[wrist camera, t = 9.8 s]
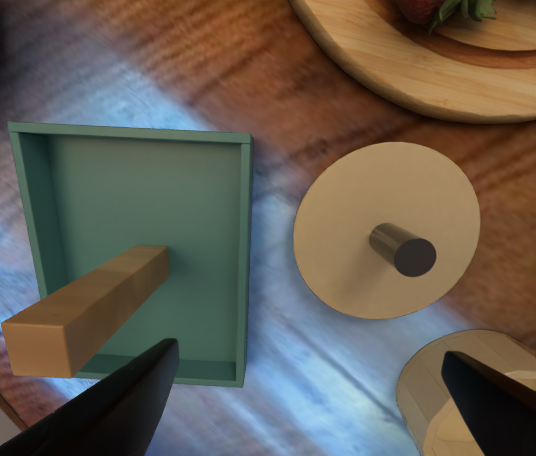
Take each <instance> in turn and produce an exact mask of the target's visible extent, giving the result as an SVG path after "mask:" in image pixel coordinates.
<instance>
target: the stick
mask: <svg viewBox="0 0 536 456" xmlns="http://www.w3.org/2000/svg"><path fill="white" fill-rule="evenodd" d="M168 277H169V258H168V247H167V246H149V245H135V246H134V247H132V248H130V249H129V250H127V251H125V252H123V253H122V254H120V255H118V256H116V257H115V258H113V259H111V260H109V261H108V262H106V263H104V264H102V265H101V266H99V267H97V268H96V269H94V270H92V271H90V272H89V273H87V274H85V275H83V276H82V277H80V278H78V279H76V280H75V281H73V282H71V283H70V284H68V285H66V286H64V287H63V288H61V289H59V290H57V291H56V292H54V293H52V294H50V295H49V296H47V297H45V298H43V299H42V300H40V301H38V302H37V303H35V304H33V305H31V306H30V307H28V308H26V309H24V310H23V311H21V312H19V313H17V314H16V315H14V316H12V317H11V318H9V319H7V320H5V321H4V322H2V323H1V327H2V331H3V335H4V339H5V343H6V348H7V352H8V356H9V360H10V364H11V368H12V373H13V375H19V376H36V377H54V378H73V377H74V376H75V375H76V374H77V373H78V371H79V370H80V369H81V368H82V367H83V366H84V365H85V364H86V363H87V362H88V361H89V360H90V359H91V358H92V357H93V356H94V355H95V354H96V353H97V351H98V350H99V349H100V348H101V347H102V346H103V345H104V344H105V343H106V342H107V341H108V340H109V339H110V338H111V337H112V336H113V335H114V334H115V333H116V331H117V330H118V329H119V328H120V327H121V326H122V325H123V324H124V323H125V322H126V321H127V320H128V319H129V318H130V317H131V316H132V315H133V314H134V313H135V311H136V310H137V309H138V308H139V307H140V306H141V305H142V304H143V303H144V302H145V301H146V300H147V299H148V298H149V297H150V296H151V295H152V294H153V292H154V291H155V290H156V289H157V288H158V287H159V286H160V285H161V284H162V283H163V282H164V281H165V280H166V279H167V278H168Z"/></svg>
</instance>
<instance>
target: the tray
mask: <svg viewBox="0 0 536 456" xmlns="http://www.w3.org/2000/svg"><path fill="white" fill-rule="evenodd" d="M7 125H8V130H9V135H10V140H11V145H12V150H13V156H14V161H15V166H16V172H17V177H18V182H19V187H20V193H21V198H22V203H23V209H24V214H25V219H26V224H27V230H28V235H29V240H30V246H31V251H32V256H33V261H34V267H35V272H36V277H37V282H38V288H39V293H40V298H41V300H42V299H43V298H45V297H47V296H49V295H50V294H52V293H54V292H56V291H57V290H59V289H61V288H63V287H64V286H66V285H68V284H70V283H71V282H73V281H75V280H76V279H78V278H80V277H82V276H83V275H85V274H87V273H89V272H90V271H92V270H94V269H96V268H97V267H99V266H101V265H102V264H104V263H106V262H108V261H109V260H111V259H113V258H115V257H116V256H118V255H120V254H122V253H123V252H125V251H127V250H129V249H130V248H132V247H134V246H135V245H149V246H167V247H168V258H169V277H168V278H167V279H166V280H165V281H164V282H163V283H162V284H161V285H160V286H159V287H158V288H157V289H156V290H155V291H154V292H153V294H152V295H151V296H150V297H149V298H148V299H147V300H146V301H145V302H144V303H143V304H142V305H141V306H140V307H139V308H138V309H137V310H136V311H135V313H134V314H133V315H132V316H131V317H130V318H129V319H128V320H127V321H126V322H125V323H124V324H123V325H122V326H121V327H120V328H119V329H118V330H117V331H116V333H115V334H114V335H113V336H112V337H111V338H110V339H109V340H108V341H107V342H106V343H105V344H104V345H103V346H102V347H101V348H100V349H99V350H98V351H97V353H96V354H95V355H94V356H93V357H92V358H91V359H90V360H89V361H88V362H87V363H86V364H85V365H84V366H83V367H82V368H81V369H80V370H79V371H78V373H77V374H76V375H75V376H74V377H73V378H88V379H104V378H105V377H107V376H108V375H110V374H111V373H113V372H114V371H116V370H117V369H119V368H120V367H122V366H123V365H125V364H126V363H128V362H129V361H131V360H132V359H134V358H136V357H137V356H139V355H140V354H142V353H143V352H145V351H146V350H148V349H149V348H151V347H152V346H154V345H155V344H157V343H158V342H160V341H161V340H163V339H165V338H176V339H177V340H178V344H179V366H178V369H177V372H176V375H175V378H174V381H173V384H189V385H205V386H222V387H239V388H243V385H244V378H245V370H246V363H247V333H248V304H249V274H250V244H251V214H252V184H253V154H254V138H253V136H252V135H251V134H250V133H231V132H210V131H190V130H170V129H149V128H129V127H109V126H88V125H68V124H48V123H27V122H7Z"/></svg>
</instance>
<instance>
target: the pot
mask: <svg viewBox="0 0 536 456" xmlns="http://www.w3.org/2000/svg"><path fill="white" fill-rule="evenodd" d="M446 351H461V352H463V353H465V354H467V355H469V356H471V357H473V358H474V359H476V360H478V361H480V362H482V363H484V364H486V365H488V366H489V367H491V368H493V369H495V370H497V371H499V372H501V373H503V374H504V375H506V376H508V377H510V378H512V379H514V380H516V381H518V382H520V383H521V384H523V385H525V386H527V387H529V388H531V389H533V390H535V391H536V351H534V350H533V349H532V348H530V347H529V346H527V345H525V344H523V343H521V342H519V341H518V340H516V339H514V338H513V337H511V336H508V335H506V334H503V333H500V332H495V331H490V330H466V331H460V332H456V333H452V334H449V335H446V336H443V337H441V338H439V339H437V340H435V341H433V342H431V343H429V344H428V345H426V346H425V347H424V348H422V349H421V350H419V351H418V352H417V353H416V354H415V355H414V356H413V357H412V358H411V359H410V361H409V362H408V363H407V364H406V366H405V367H404V369H403V371H402V373H401V375H400V377H399V380H398V383H397V389H396V401H397V406H398V409H399V411H400V414H401V416H402V419H403V422H404V424H405V426H406V428H407V430H408V432H409V434H410V436H411V438H412V440H413V442H414V444H415V446H416V448H417V450H418V452H419V454H420V456H484V454H483V452H482V451H481V449H480V448H479V446H478V444H477V443H476V441H475V439H474V438H473V436H472V434H471V433H470V431H469V429H468V427H467V426H466V424H465V422H464V420H463V418H462V416H461V414H460V412H459V410H458V408H457V407H456V405H455V403H454V401H453V399H452V397H451V395H450V393H449V391H448V389H447V387H446V385H445V383H444V381H443V379H442V376H441V368H442V363H443V359H444V354H445V352H446Z"/></svg>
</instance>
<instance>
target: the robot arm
mask: <svg viewBox="0 0 536 456" xmlns="http://www.w3.org/2000/svg"><path fill="white" fill-rule="evenodd" d="M178 366H179V344H178V340H177V339H176V338H165V339H163V340H161V341H160V342H158V343H157V344H155V345H154V346H152V347H151V348H149V349H148V350H146V351H145V352H143V353H142V354H140V355H139V356H137V357H136V358H134V359H132V360H131V361H129V362H128V363H126V364H125V365H123V366H122V367H120V368H119V369H117V370H116V371H114V372H113V373H111V374H110V375H108V376H107V377H105V378H104V379H102V380H101V381H99V382H98V383H96V384H95V385H93V386H92V387H90V388H89V389H87V390H85V391H84V392H82V393H81V394H79V395H78V396H76V397H75V398H73V399H72V400H70V401H69V402H67V403H66V404H64V405H63V406H61V407H60V408H58V409H57V410H55V412H54V413H50V414H49V415H47V416H46V417H44V418H43V419H41V420H40V421H38V422H37V423H35V424H34V425H32V426H31V427H29V428H27V429H26V430H24V431H23V432H21V433H20V434H18V435H17V436H15V437H14V438H12V439H10V440H9V441H7V442H5V443H4V444H2V445H1V446H0V456H144V455H145V453H146V451H147V448H148V446H149V444H150V441H151V439H152V437H153V435H154V432H155V430H156V428H157V426H158V423H159V421H160V419H161V416H162V414H163V411H164V408H165V405H166V402H167V399H168V396H169V393H170V390H171V387H172V384H173V381H174V378H175V375H176V372H177V369H178ZM441 376H442V379H443V381H444V383H445V385H446V387H447V389H448V391H449V393H450V395H451V397H452V399H453V401H454V403H455V405H456V407H457V408H458V410H459V412H460V414H461V416H462V418H463V420H464V422H465V424H466V426H467V427H468V429H469V431H470V433H471V434H472V436H473V438H474V439H475V441H476V443H477V444H478V446H479V448H480V449H481V451H482V452H483V454H484V456H536V391H535V390H533V389H531V388H529V387H527V386H525V385H523V384H521V383H520V382H518V381H516V380H514V379H512V378H510V377H508V376H506V375H504V374H503V373H501V372H499V371H497V370H495V369H493V368H491V367H489V366H488V365H486V364H484V363H482V362H480V361H478V360H476V359H474V358H473V357H471V356H469V355H467V354H465V353H463V352H461V351H446V352H445V354H444V359H443V363H442V368H441Z"/></svg>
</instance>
